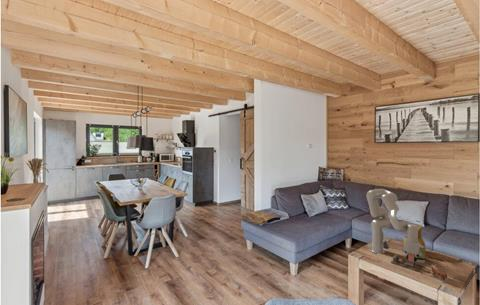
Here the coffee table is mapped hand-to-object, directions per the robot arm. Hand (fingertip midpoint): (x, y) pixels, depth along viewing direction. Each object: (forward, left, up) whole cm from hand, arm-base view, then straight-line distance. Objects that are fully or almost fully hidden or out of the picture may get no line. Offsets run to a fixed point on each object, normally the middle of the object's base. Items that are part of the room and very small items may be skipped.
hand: (411, 260), depth 200 cm
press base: (-3, 0, -7) cm, 7 cm away
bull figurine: (+17, -3, -7) cm, 19 cm away
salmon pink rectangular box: (-1, 0, -5) cm, 5 cm away
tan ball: (-8, 0, -6) cm, 9 cm away
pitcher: (-6, +37, -7) cm, 38 cm away
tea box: (-2, +19, -7) cm, 20 cm away
